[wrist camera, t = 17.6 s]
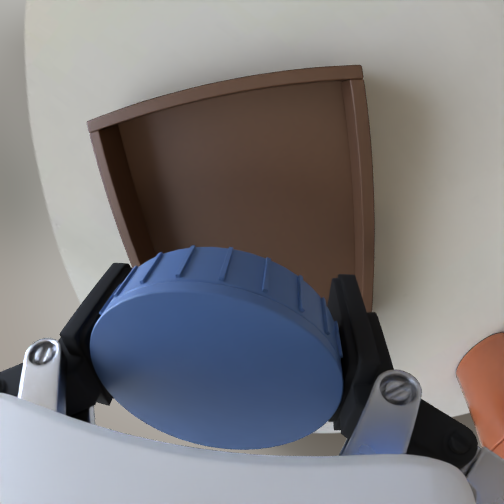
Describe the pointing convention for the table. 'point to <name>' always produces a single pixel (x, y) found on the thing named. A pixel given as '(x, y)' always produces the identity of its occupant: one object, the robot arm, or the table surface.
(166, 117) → the tray
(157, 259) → the lid
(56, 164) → the table surface
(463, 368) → the jar
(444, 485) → the robot arm
